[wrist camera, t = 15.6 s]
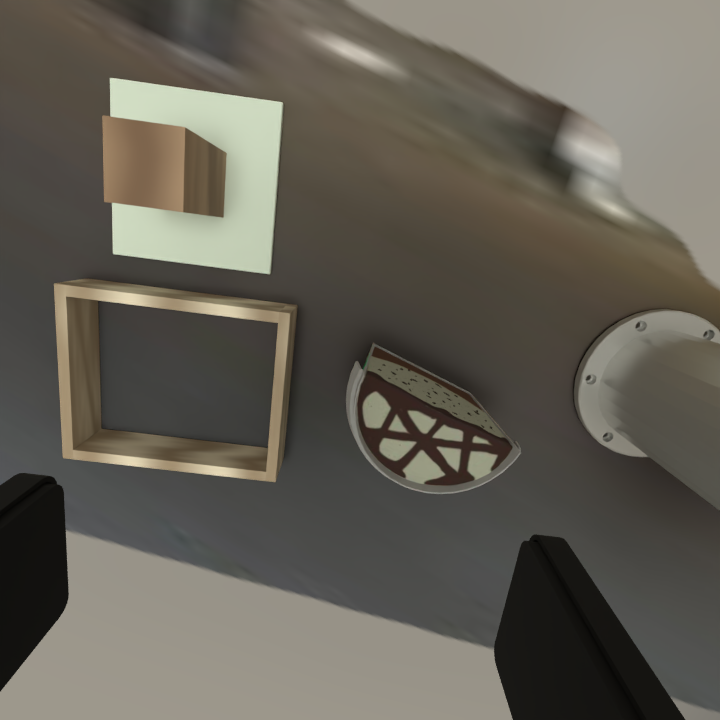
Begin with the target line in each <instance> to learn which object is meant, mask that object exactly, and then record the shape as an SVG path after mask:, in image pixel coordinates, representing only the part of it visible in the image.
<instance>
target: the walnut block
mask: <svg viewBox="0 0 720 720" xmlns="http://www.w3.org/2000/svg"><path fill="white" fill-rule="evenodd" d="M226 156H227V153H226V152H224V151H223V150H221V149H219V148H218V147H216V146H215V145H213V144H211V143H210V142H208V141H207V140H205V139H203V138H202V137H200V136H199V135H197V134H195V133H194V132H192V131H191V130H189V129H187V128H186V127H181V126H174V125H167V124H160V123H153V122H146V121H139V120H131V119H124V118H117V117H110V116H103V164H104V202H111V203H118V204H125V205H133V206H140V207H148V208H155V209H162V210H170V211H177V212H185V213H192V214H199V215H207V216H214V217H222V218H224V198H225V177H226Z"/></svg>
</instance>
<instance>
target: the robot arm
mask: <svg viewBox="0 0 720 720" xmlns="http://www.w3.org/2000/svg"><path fill="white" fill-rule="evenodd" d="M636 324H637V325H636ZM587 376H588V377H587ZM586 377H587V378H586ZM574 402H575V407H576V411H577V414H578V417H579V419H580V421H581V423H582V424H583V426H584V428H585V429H586V430H587V431H588V432H589V433H590V434H591V436H592V437H593V438H594V439H596V440H597V441H598V442H599V443H600V444H602V445H603V446H605V447H607V448H609V449H610V450H612V451H614V452H617V453H620V454H623V455H626V456H634V457H650V458H651V459H652V460H654V461H655V462H656V463H658V464H659V465H660V466H662V467H663V468H664V469H665V470H667V471H668V472H669V473H671V474H672V475H673V476H675V477H676V478H677V479H679V480H680V481H681V482H682V483H684V484H685V485H686V486H688V487H689V488H690V489H692V490H693V491H694V492H696V493H697V494H698V495H699V496H701V497H702V498H703V499H705V500H706V501H707V502H709V503H710V504H711V505H713V506H714V507H715V508H716V509H718V510H719V511H720V331H719V329H717V328H716V327H715V326H714V325H712V324H711V323H710V322H709V321H707V320H705V319H703V318H701V317H699V316H697V315H695V314H691V313H687V312H683V311H678V310H670V309H658V310H649V311H644V312H640V313H636V314H634V315H632V316H629V317H627V318H625V319H622V320H620V321H619V322H617V323H616V324H614V325H613V326H611V327H610V328H608V329H607V330H606V331H605V332H604V333H603V334H602V335H600V336H599V337H598V338H597V339H596V340H595V342H594V343H593V344H592V345H591V347H590V348H589V349H588V351H587V352H586V354H585V356H584V358H583V359H582V361H581V363H580V365H579V368H578V372H577V375H576V378H575V385H574ZM67 573H68V572H67V552H66V530H65V509H64V492H63V488H62V486H60V485H57V482H56V480H55V479H54V478H53V477H51V476H44V475H36V474H28V473H19V474H17V475H15V476H13V477H12V478H10V479H9V480H7V481H6V482H5V483H3V484H2V485H0V691H1V690H2V689H3V687H4V686H5V685H6V684H7V682H8V681H9V680H10V679H11V677H12V676H13V675H14V674H15V672H16V671H17V670H18V669H19V667H20V666H21V665H22V664H23V662H24V661H25V660H26V659H27V657H28V656H29V655H30V654H31V652H32V651H33V650H34V649H35V647H36V646H37V645H38V644H39V642H40V641H41V640H42V639H43V637H44V636H45V635H46V633H47V632H48V631H49V630H50V628H51V627H52V626H53V625H54V624H55V622H56V621H57V620H58V619H59V617H60V616H61V614H62V613H63V611H64V609H65V607H66V604H67V601H68V594H69V593H68V574H67ZM494 654H495V655H494V656H495V663H496V666H497V670H498V673H499V676H500V679H501V683H502V686H503V689H504V692H505V696H506V699H507V702H508V705H509V708H510V712H511V715H512V718H513V720H685V719H684V717H683V716H682V714H681V713H680V711H679V710H678V708H677V707H676V705H675V704H674V702H673V701H672V699H671V698H670V696H669V695H668V693H667V692H666V690H665V689H664V687H663V686H662V684H661V683H660V681H659V680H658V678H657V677H656V675H655V674H654V672H653V671H652V669H651V668H650V666H649V665H648V663H647V662H646V660H645V659H644V657H643V656H642V654H641V653H640V651H639V650H638V648H637V647H636V645H635V644H634V642H633V641H632V639H631V638H630V636H629V635H628V633H627V632H626V630H625V629H624V627H623V626H622V624H621V623H620V621H619V620H618V618H617V617H616V615H615V614H614V612H613V611H612V609H611V608H610V606H609V605H608V603H607V602H606V600H605V599H604V597H603V596H602V594H601V593H600V591H599V590H598V588H597V587H596V585H595V584H594V582H593V581H592V579H591V578H590V576H589V575H588V573H587V572H586V570H585V569H584V567H583V566H582V564H581V563H580V561H579V560H578V558H577V557H576V555H575V554H574V552H573V551H572V549H571V548H570V546H569V545H568V543H567V542H566V541H565V540H564V539H563V538H560V537H552V536H544V535H533V536H532V537H531V538H530V540H529V541H523V543H522V544H521V547H520V551H519V554H518V558H517V562H516V566H515V569H514V573H513V577H512V581H511V584H510V588H509V592H508V596H507V599H506V603H505V607H504V611H503V614H502V618H501V622H500V626H499V630H498V633H497V637H496V641H495V646H494Z"/></svg>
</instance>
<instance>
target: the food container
mask: <svg viewBox="0 0 720 720" xmlns="http://www.w3.org/2000/svg"><path fill="white" fill-rule="evenodd" d="M346 409H347V417H348V421H349V425H350V428H351V431H352V433H353V435H354V438H355V440H356V442H357V444H358V446H359V448H360V449H361V451H362V452H363V454H364V455H365V457H366V459H367V460H368V461H369V462H370V463H371V464H372V465H373V466H374V467H375V468H376V469H377V470H378V471H379V472H381V473H382V474H383V475H384V476H386V477H387V478H389V479H391V480H392V481H394V482H396V483H398V484H400V485H401V486H404V487H407V488H409V489H412V490H415V491H420V492H424V493H433V494H448V493H457V492H462V491H467V490H470V489H473V488H475V487H478V486H481V485H483V484H485V483H487V482H489V481H491V480H492V479H494V478H495V477H497V476H498V475H500V474H501V473H502V472H504V471H505V470H506V469H507V468H508V467H509V466H510V465H511V464H512V463H513V462H514V461H515V460H516V459H517V457H518V456H519V455H520V454H521V448H520V446H519V444H518V442H517V441H515V442H514V443H513V441H512V440H511V439H510V438H509V437H508V436H507V434H506V433H505V432H504V431H503V430H502V429H501V427H500V426H499V425H498V424H497V423H496V422H495V420H494V419H493V418H492V417H491V416H490V415H489V413H488V412H487V411H486V410H485V409H484V408H483V406H482V405H481V404H480V403H479V402H478V401H477V399H476V398H475V397H474V396H473V395H472V394H471V393H470V392H468V391H466V390H464V389H462V388H461V387H459V386H457V385H455V384H453V383H451V382H449V381H447V380H445V379H443V378H441V377H439V376H437V375H435V374H433V373H431V372H429V371H427V370H425V369H423V368H421V367H419V366H417V365H415V364H414V363H412V362H410V361H408V360H406V359H404V358H402V357H400V356H398V355H396V354H394V353H392V352H390V351H388V350H386V349H384V348H382V347H380V346H378V345H376V344H374V343H373V344H372V346H371V349H370V351H369V353H368V355H367V358H366V361H365V364H364V367H363V369H362V368H361V366H360V364H359V362H358V361H356V362H355V364H354V367H353V369H352V371H351V374H350V378H349V382H348V386H347V394H346Z"/></svg>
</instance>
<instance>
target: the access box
mask: <svg viewBox="0 0 720 720" xmlns="http://www.w3.org/2000/svg"><path fill="white" fill-rule="evenodd" d="M54 295H55V314H56V333H57V352H58V371H59V391H60V410H61V429H62V448H63V458H67V459H76V460H85V461H94V462H102V463H111V464H120V465H129V466H138V467H147V468H155V469H164V470H173V471H182V472H191V473H200V474H208V475H217V476H226V477H235V478H244V479H252V480H261V481H270V482H276V479H277V476H278V473H279V470H280V467H281V464H282V461H283V459H284V449H285V438H286V427H287V416H288V406H289V395H290V384H291V373H292V362H293V351H294V340H295V329H296V319H297V308H298V305H293V304H285V303H277V302H269V301H261V300H254V299H246V298H238V297H230V296H222V295H214V294H206V293H199V292H191V291H183V290H175V289H167V288H159V287H151V286H144V285H136V284H128V283H120V282H112V281H104V280H96V279H89V278H86V279H80V280H73V281H67V282H61V283H54ZM98 300H99V301H107V302H115V303H123V304H131V305H139V306H147V307H155V308H163V309H171V310H179V311H187V312H195V313H203V314H210V315H218V316H226V317H234V318H242V319H250V320H258V321H266V322H274V323H278V332H277V344H276V356H275V369H274V381H273V393H272V406H271V418H270V430H269V443H268V448H264V447H256V446H247V445H238V444H230V443H221V442H212V441H204V440H195V439H186V438H178V437H169V436H161V435H152V434H143V433H135V432H126V431H117V430H109V429H102V428H101V390H100V352H99V315H98Z"/></svg>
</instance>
